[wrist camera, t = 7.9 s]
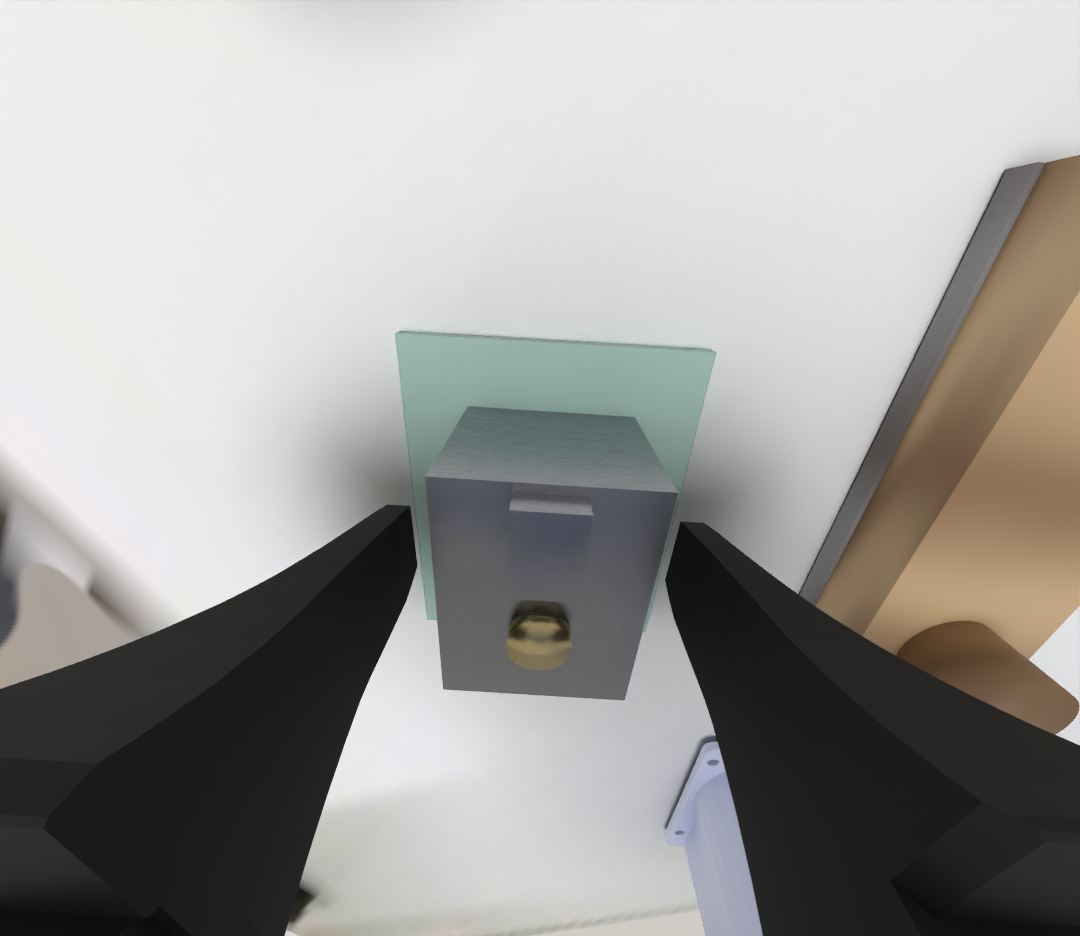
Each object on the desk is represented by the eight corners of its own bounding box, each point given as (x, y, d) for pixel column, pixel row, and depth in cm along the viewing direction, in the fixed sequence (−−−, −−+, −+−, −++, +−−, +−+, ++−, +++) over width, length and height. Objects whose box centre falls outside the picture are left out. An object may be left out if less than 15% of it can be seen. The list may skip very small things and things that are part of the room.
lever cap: (604, 583, 13) (628, 725, 9) (472, 575, 13) (436, 713, 9) (634, 416, 10) (689, 511, 6) (467, 406, 10) (414, 493, 6)
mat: (642, 622, 14) (644, 631, 14) (430, 610, 14) (427, 619, 14) (710, 349, 10) (716, 352, 10) (400, 331, 10) (395, 333, 10)
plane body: (927, 639, 15) (1066, 775, 11) (781, 631, 14) (867, 764, 11) (1265, 184, 8) (1926, 104, 4) (1005, 170, 8) (1431, 73, 4)
